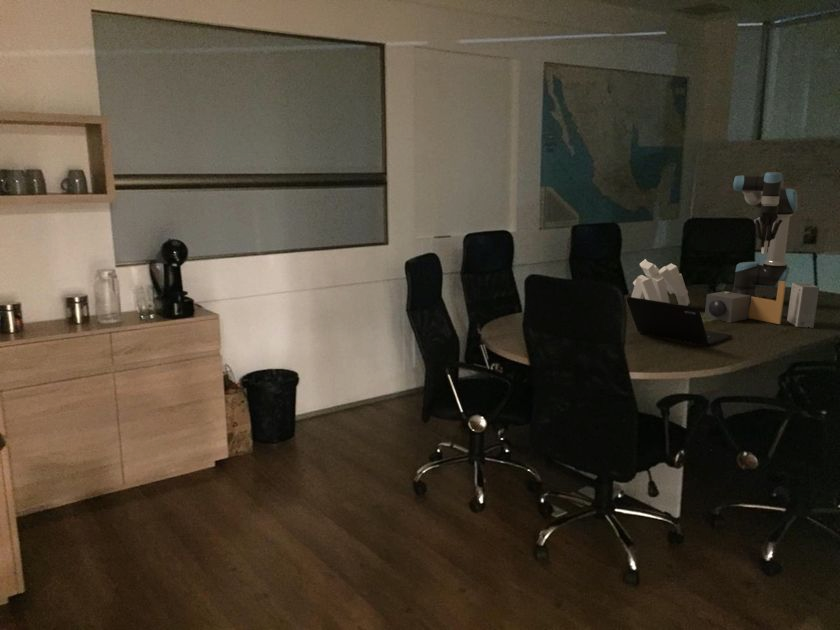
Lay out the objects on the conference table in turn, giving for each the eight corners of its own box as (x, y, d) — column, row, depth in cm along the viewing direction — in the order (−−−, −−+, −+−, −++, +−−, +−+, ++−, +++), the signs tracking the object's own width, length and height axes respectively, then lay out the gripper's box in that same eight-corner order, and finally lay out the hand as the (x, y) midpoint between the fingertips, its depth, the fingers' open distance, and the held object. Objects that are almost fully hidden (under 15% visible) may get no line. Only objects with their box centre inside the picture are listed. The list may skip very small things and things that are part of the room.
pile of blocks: (654, 310, 384) (629, 256, 379) (705, 297, 363) (679, 239, 358) (633, 337, 360) (606, 280, 354) (686, 325, 339) (658, 264, 334)
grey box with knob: (721, 313, 351) (724, 290, 348) (747, 318, 339) (750, 294, 337) (702, 317, 340) (704, 293, 338) (728, 323, 329) (730, 297, 326)
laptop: (732, 339, 299) (737, 296, 295) (694, 353, 274) (698, 307, 270) (663, 326, 323) (666, 286, 319) (621, 338, 298) (625, 295, 294)
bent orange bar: (748, 317, 339) (753, 277, 334) (749, 317, 339) (754, 277, 335) (779, 324, 326) (784, 281, 321) (780, 323, 326) (786, 281, 322)
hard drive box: (814, 328, 320) (819, 287, 316) (796, 327, 322) (802, 286, 317) (802, 321, 335) (808, 282, 331) (786, 320, 336) (791, 281, 332)
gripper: (759, 205, 317) (753, 254, 323) (787, 205, 317) (781, 254, 322) (752, 204, 324) (747, 252, 330) (779, 204, 324) (773, 252, 329)
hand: (763, 253), depth 326 cm, fingers closed
